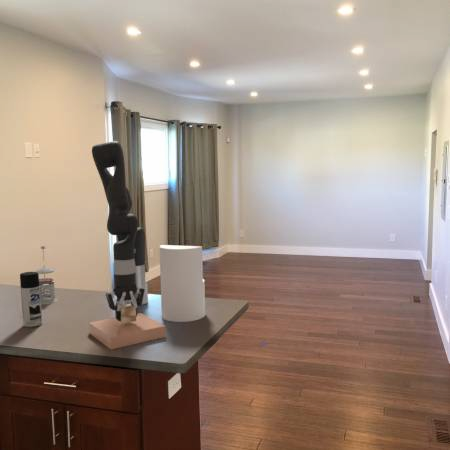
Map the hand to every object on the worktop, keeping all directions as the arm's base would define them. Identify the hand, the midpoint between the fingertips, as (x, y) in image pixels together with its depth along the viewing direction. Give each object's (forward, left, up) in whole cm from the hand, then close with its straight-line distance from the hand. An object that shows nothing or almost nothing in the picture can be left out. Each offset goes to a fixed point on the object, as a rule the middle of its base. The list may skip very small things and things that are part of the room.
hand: (126, 319), depth 177 cm
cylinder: (-28, -9, -6) cm, 30 cm away
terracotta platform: (0, 0, -6) cm, 6 cm away
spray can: (+24, -33, -6) cm, 41 cm away
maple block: (0, 0, -1) cm, 1 cm away
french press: (+11, -66, -6) cm, 67 cm away
